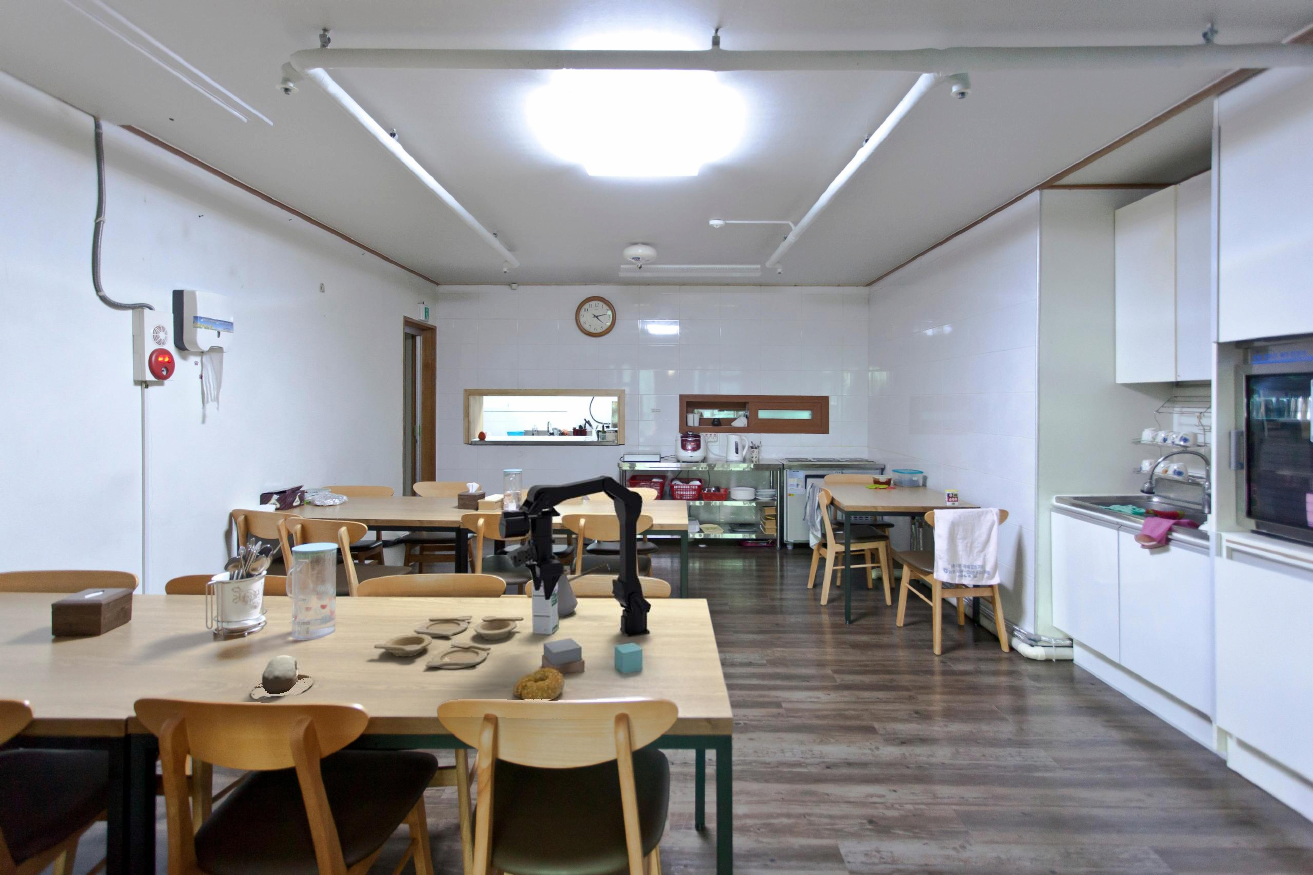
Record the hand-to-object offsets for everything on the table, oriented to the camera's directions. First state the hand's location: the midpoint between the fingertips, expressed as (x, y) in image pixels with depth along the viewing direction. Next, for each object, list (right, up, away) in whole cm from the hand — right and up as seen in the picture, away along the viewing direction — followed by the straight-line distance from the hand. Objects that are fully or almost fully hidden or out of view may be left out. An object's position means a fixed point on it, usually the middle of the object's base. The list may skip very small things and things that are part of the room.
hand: (542, 594), depth 162 cm
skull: (-53, -16, -22) cm, 60 cm away
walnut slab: (+7, -15, -11) cm, 20 cm away
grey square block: (+7, -12, -11) cm, 18 cm away
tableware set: (-25, -15, +5) cm, 29 cm away
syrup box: (-2, -14, +15) cm, 20 cm away
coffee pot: (+4, -13, +32) cm, 35 cm away
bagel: (+4, -16, -25) cm, 30 cm away
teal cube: (+23, -15, -11) cm, 29 cm away
